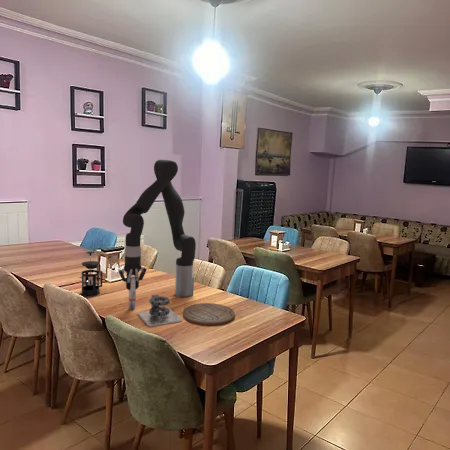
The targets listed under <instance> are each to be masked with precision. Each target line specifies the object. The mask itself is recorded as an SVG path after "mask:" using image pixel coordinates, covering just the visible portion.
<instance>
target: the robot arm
mask: <svg viewBox="0 0 450 450" xmlns="http://www.w3.org/2000/svg"><path fill="white" fill-rule="evenodd" d="M178 170H179V166H178V164H177V162H176V161H175V160H173V159H158V160H156V161H154V165H153V172H154V175H155V179H156V180H155V181H154V182H153V183H151V184H150V186H149V185H148V187H147V188H145V189H144V190H143V192H142V193H141V194H140V195H139V197H138V199H137V200H136V202H135V204H133V205H132V206H131V207H129V209H128V210H127V211H125V213H124V215H123V218H122V224H123V225H124V226H125V227H127V228H130V232H127V233H126V234H125V239H124V240H125V245H124V246H125V247H124V266H123V268H121V269H118V273H119V275H120V278H121V280H122V281H123V282H124V283H125V287H126V289H127V291H129V290H130V278H131V276H134V277H136V290H137V289H138V288H139V287H140V285H139V283H140V281H143V279H144V277H145V274H146V272H147V268H146V267H142V265H141V261H142V255H141V254H142V252H141V251H142V249H141V248H142V247H141V237H142V233H143V230H144V225H145V219H144V217H143V214H147V213H148V212H149V210H150V209H151V207H152V206H153V205H154V203H155V201H156V200H157V198H158V197H159V195H160V194H161V196H162V199H163V202H164V207H165V210H166V215H167V218H168V222H169V225H170V230H171V236H172V237H171V238H172V243H173V246H174V248H175V249H176V250H177V251H179V252H181V254H180V255H181V256H180V257H178V258H176V260H175V284H174V285H175V286H174V288H175V289H174V295H175V296H176V297H179V298H187V297H191V296H193V295H194V289H195V288H194V287H195V286H194V285H195V278H194V277H193V274H194V273H193V272H194V271H193V269H194V261H195V258H196V247H197V245H196V239H195V238H194V237H193V236H192V235H187V234H186V233H185V231H184V227H183V222H184V217H185V206H184V202H183V200H182V198H181V195H179V193H178V191H177V190H176V189H175V187H174V186H173V184H172V180H173V179H174V178H175V177H176V176H177V174H178ZM139 272H140V274H139ZM125 273H126V277H125V275H124V274H125Z"/></svg>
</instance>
